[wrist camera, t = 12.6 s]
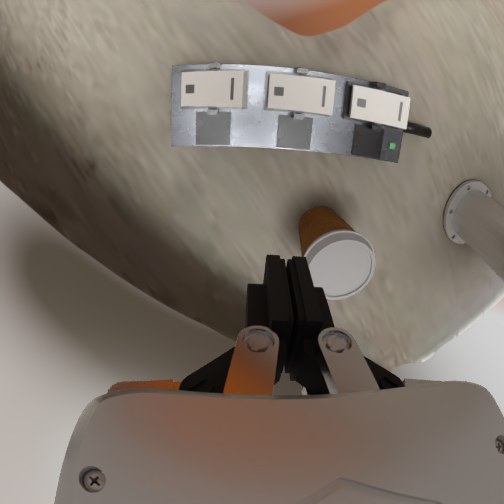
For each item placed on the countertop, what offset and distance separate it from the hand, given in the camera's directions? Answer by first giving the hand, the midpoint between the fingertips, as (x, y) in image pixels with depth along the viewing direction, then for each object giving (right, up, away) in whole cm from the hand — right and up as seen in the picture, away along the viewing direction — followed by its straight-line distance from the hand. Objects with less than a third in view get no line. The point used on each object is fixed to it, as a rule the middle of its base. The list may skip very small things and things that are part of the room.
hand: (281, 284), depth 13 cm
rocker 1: (-5, +19, +15) cm, 24 cm away
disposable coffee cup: (+9, +5, +31) cm, 33 cm away
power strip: (+7, +20, +22) cm, 30 cm away
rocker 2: (+4, +18, +16) cm, 24 cm away
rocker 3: (+13, +18, +16) cm, 28 cm away
